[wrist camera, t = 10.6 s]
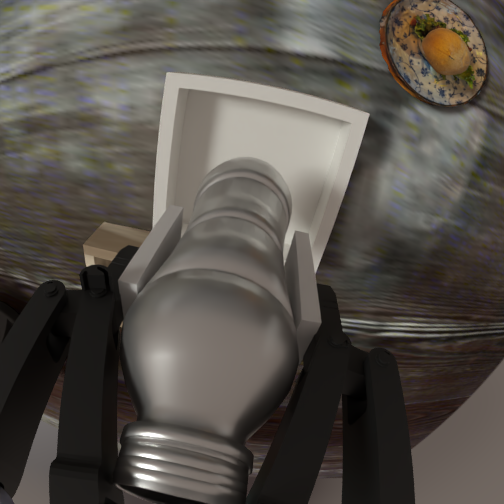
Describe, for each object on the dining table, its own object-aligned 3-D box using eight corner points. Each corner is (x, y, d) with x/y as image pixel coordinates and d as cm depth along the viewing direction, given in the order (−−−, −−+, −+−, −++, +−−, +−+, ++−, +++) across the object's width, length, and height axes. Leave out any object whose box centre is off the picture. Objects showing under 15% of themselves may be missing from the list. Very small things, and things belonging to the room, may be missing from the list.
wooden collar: (189, 313, 39) (180, 342, 35) (111, 294, 38) (96, 319, 34) (196, 241, 33) (185, 268, 29) (104, 221, 32) (83, 244, 28)
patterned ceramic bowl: (488, 98, 21) (533, 113, 15) (398, 115, 24) (434, 130, 18) (457, -7, 15) (499, -18, 9) (358, -2, 18) (384, -24, 12)
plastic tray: (310, 254, 33) (314, 276, 29) (164, 224, 32) (152, 243, 29) (357, 108, 24) (369, 114, 20) (181, 72, 23) (166, 72, 20)
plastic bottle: (304, 166, 21) (361, 498, 4) (272, 242, 24) (254, 524, 8) (216, 138, 20) (21, 419, 3) (195, 218, 24) (83, 481, 7)
